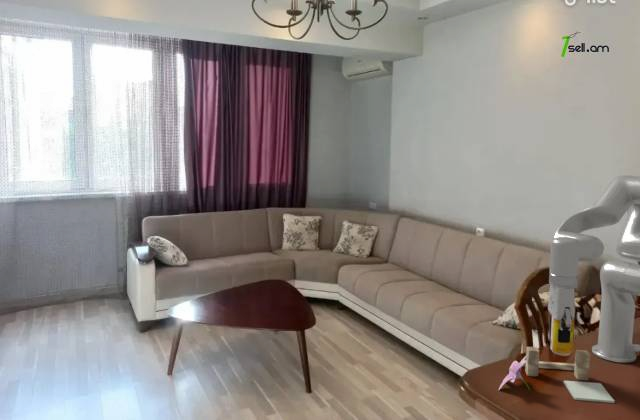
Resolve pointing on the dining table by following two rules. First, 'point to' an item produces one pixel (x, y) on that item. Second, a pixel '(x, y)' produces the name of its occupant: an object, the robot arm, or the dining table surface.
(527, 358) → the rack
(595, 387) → the mat
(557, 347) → the beer can
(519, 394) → the dining table surface
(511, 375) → the lily
